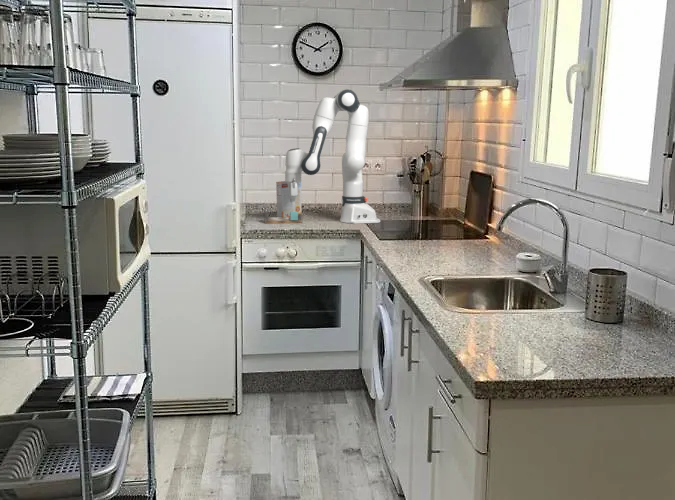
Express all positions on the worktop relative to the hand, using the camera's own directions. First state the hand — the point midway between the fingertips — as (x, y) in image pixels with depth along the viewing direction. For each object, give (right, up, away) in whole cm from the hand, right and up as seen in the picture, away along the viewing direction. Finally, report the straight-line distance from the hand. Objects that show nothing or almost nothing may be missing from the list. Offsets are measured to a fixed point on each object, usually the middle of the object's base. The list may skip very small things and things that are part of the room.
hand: (292, 203), depth 385 cm
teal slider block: (+1, -9, +2) cm, 9 cm away
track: (-5, -10, +1) cm, 11 cm away
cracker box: (-3, -7, +20) cm, 22 cm away
